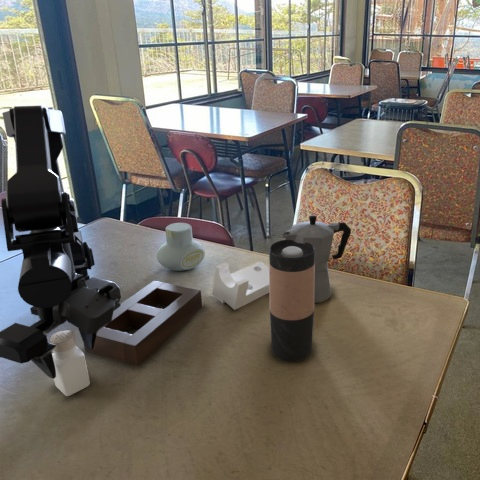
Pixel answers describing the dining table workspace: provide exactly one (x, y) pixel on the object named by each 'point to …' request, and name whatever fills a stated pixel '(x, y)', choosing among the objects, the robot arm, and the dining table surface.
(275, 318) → the travel mug
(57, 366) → the salt shaker
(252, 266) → the bracket
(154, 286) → the stand
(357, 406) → the dining table surface
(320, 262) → the coffeepot
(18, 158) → the robot arm
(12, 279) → the dining table surface
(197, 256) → the air freshener
